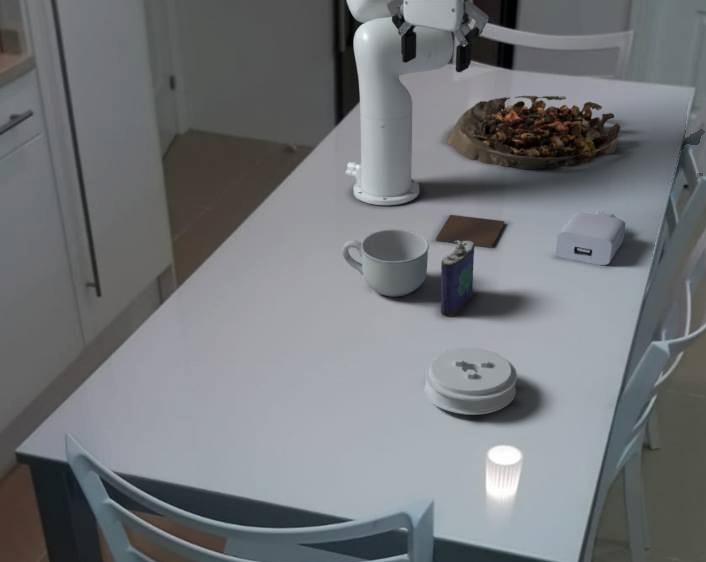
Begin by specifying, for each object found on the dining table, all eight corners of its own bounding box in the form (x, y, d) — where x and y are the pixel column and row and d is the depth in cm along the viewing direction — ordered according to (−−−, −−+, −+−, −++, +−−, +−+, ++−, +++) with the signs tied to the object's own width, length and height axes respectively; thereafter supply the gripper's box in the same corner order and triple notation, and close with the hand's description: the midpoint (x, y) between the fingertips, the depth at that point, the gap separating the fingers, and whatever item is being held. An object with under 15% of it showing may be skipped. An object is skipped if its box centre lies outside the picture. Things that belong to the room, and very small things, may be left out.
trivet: (435, 240, 191) (435, 237, 190) (450, 217, 198) (450, 214, 198) (491, 247, 188) (491, 244, 188) (504, 224, 196) (504, 220, 195)
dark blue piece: (460, 289, 176) (463, 227, 170) (477, 293, 175) (481, 231, 169) (436, 314, 170) (438, 252, 164) (454, 318, 169) (456, 255, 162)
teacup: (437, 280, 179) (439, 235, 174) (411, 309, 172) (412, 263, 167) (361, 265, 184) (360, 220, 179) (332, 293, 176) (331, 247, 172)
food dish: (640, 135, 231) (646, 98, 226) (577, 192, 210) (583, 153, 205) (492, 102, 245) (495, 67, 240) (419, 153, 224) (421, 115, 219)
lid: (450, 429, 146) (451, 398, 142) (409, 383, 155) (409, 352, 152) (532, 406, 149) (535, 375, 146) (487, 362, 159) (489, 332, 156)
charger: (631, 231, 192) (608, 266, 182) (580, 222, 196) (555, 256, 185) (635, 205, 189) (612, 240, 179) (583, 197, 193) (558, 230, 182)
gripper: (502, -52, 160) (495, 67, 170) (401, -64, 168) (401, 50, 178) (477, -42, 155) (472, 80, 166) (375, -55, 163) (376, 63, 173)
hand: (435, 65), depth 172 cm, fingers open, 9 cm apart
